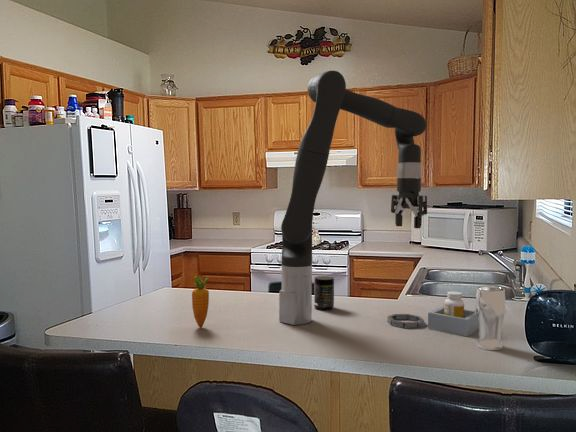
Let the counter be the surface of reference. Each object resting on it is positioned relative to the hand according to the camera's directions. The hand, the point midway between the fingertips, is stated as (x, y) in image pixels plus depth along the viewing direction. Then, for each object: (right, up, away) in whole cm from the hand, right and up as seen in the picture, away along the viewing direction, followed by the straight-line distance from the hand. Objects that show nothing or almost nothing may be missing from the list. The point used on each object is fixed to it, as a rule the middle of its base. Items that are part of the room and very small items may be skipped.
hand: (408, 227), depth 152 cm
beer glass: (+13, -30, -32) cm, 46 cm away
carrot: (-64, -29, -17) cm, 72 cm away
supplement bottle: (+9, -29, -16) cm, 34 cm away
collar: (-4, -29, -11) cm, 31 cm away
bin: (+9, -29, -16) cm, 34 cm away
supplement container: (-27, -28, +6) cm, 39 cm away
